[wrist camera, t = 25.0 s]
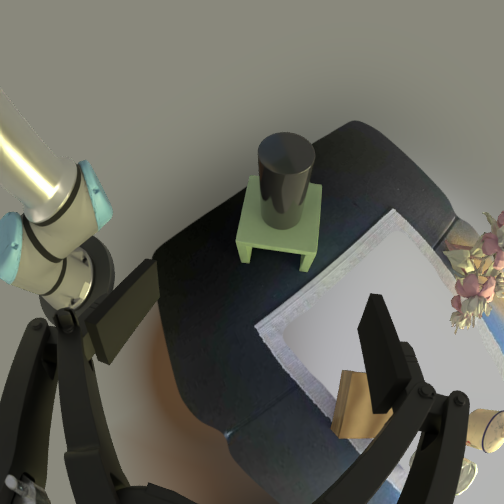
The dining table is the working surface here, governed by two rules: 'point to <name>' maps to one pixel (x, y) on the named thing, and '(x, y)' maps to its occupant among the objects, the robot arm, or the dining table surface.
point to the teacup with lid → (485, 430)
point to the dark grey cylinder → (284, 178)
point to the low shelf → (356, 408)
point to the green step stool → (266, 237)
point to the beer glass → (465, 476)
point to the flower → (477, 274)
